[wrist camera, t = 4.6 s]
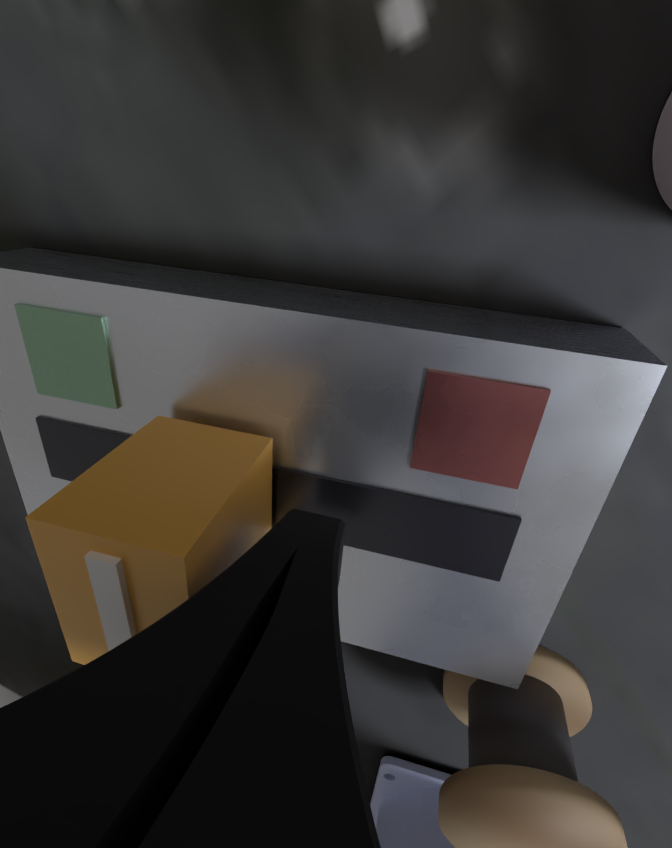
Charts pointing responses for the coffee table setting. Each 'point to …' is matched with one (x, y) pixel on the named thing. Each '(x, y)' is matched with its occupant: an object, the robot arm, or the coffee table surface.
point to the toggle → (150, 528)
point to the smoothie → (664, 153)
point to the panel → (346, 429)
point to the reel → (524, 764)
